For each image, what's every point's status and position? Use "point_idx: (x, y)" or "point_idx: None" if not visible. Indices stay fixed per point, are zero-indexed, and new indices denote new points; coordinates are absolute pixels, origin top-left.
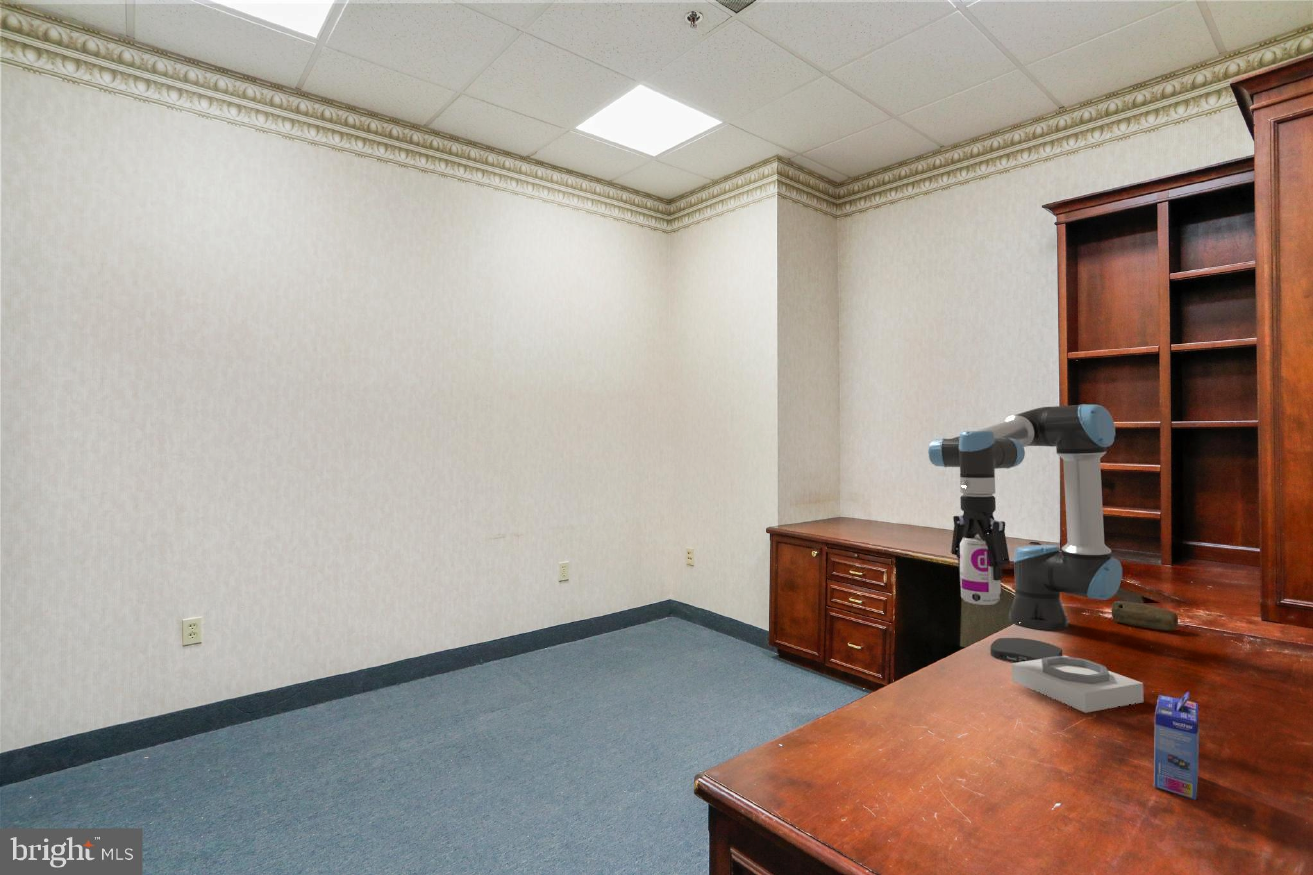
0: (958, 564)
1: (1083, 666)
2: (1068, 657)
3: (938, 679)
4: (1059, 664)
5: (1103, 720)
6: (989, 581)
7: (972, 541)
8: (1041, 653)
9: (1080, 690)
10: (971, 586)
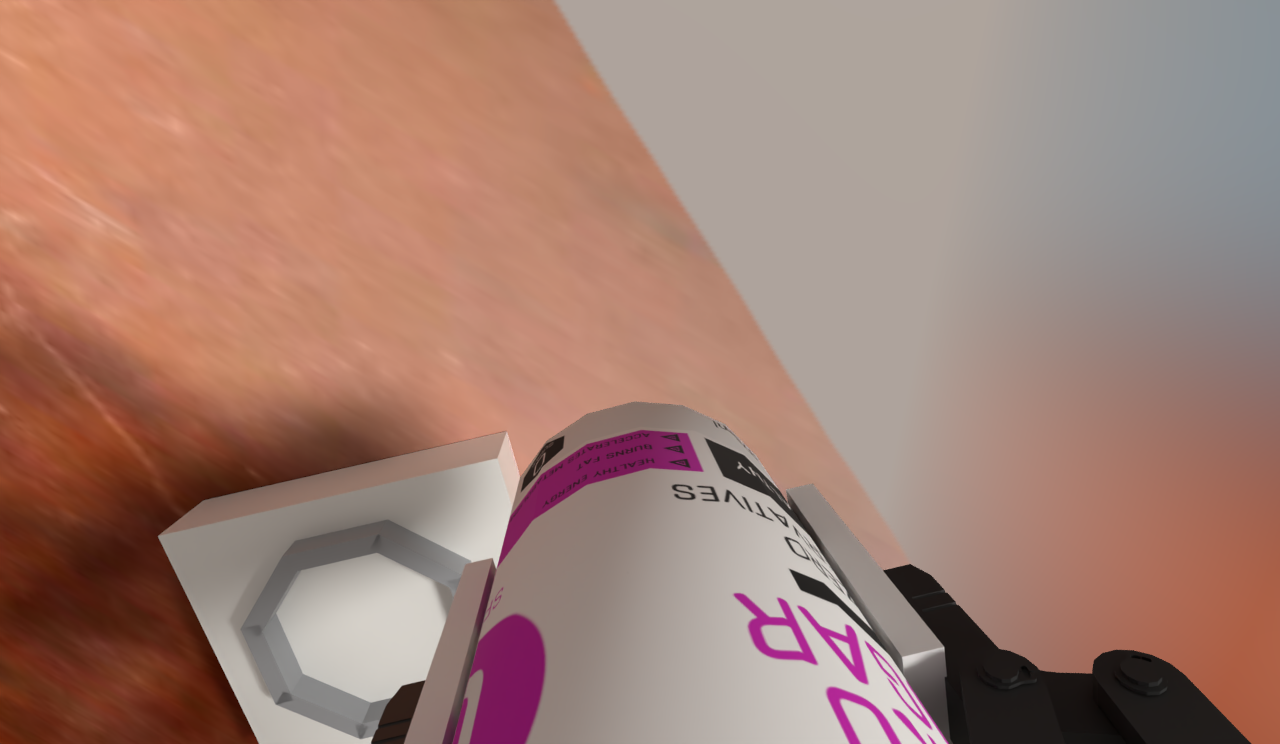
0: (956, 605)
1: None
2: None
3: (545, 142)
4: None
5: (141, 516)
6: (459, 631)
7: None
8: None
9: (184, 536)
10: (563, 475)
